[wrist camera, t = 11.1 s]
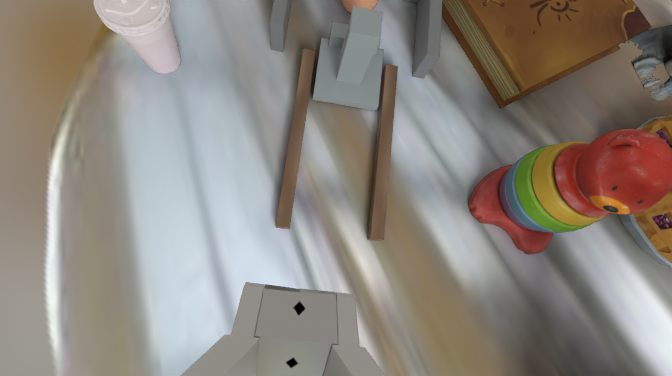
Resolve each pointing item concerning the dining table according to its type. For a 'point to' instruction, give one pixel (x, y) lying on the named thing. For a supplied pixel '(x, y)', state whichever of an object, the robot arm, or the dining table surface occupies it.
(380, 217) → the lane
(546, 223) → the stacking bear
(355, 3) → the ball
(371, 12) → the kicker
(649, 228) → the pie
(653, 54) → the stuffed giraffe
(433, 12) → the grey walled tray
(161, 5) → the smoothie
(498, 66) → the diary
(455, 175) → the dining table surface
